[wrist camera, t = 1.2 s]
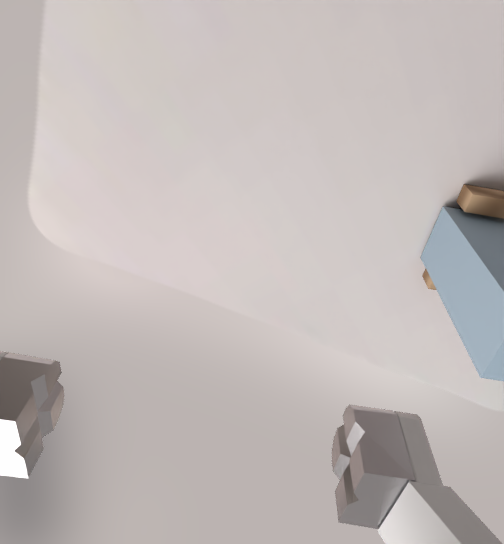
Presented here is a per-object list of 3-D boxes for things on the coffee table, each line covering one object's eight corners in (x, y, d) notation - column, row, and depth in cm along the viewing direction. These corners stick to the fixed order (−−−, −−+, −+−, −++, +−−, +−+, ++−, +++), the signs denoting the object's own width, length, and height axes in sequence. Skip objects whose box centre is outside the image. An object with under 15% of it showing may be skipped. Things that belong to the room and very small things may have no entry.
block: (420, 257, 38) (480, 377, 27) (442, 206, 36) (520, 315, 24) (475, 266, 38) (559, 389, 27) (502, 216, 36) (608, 329, 24)
